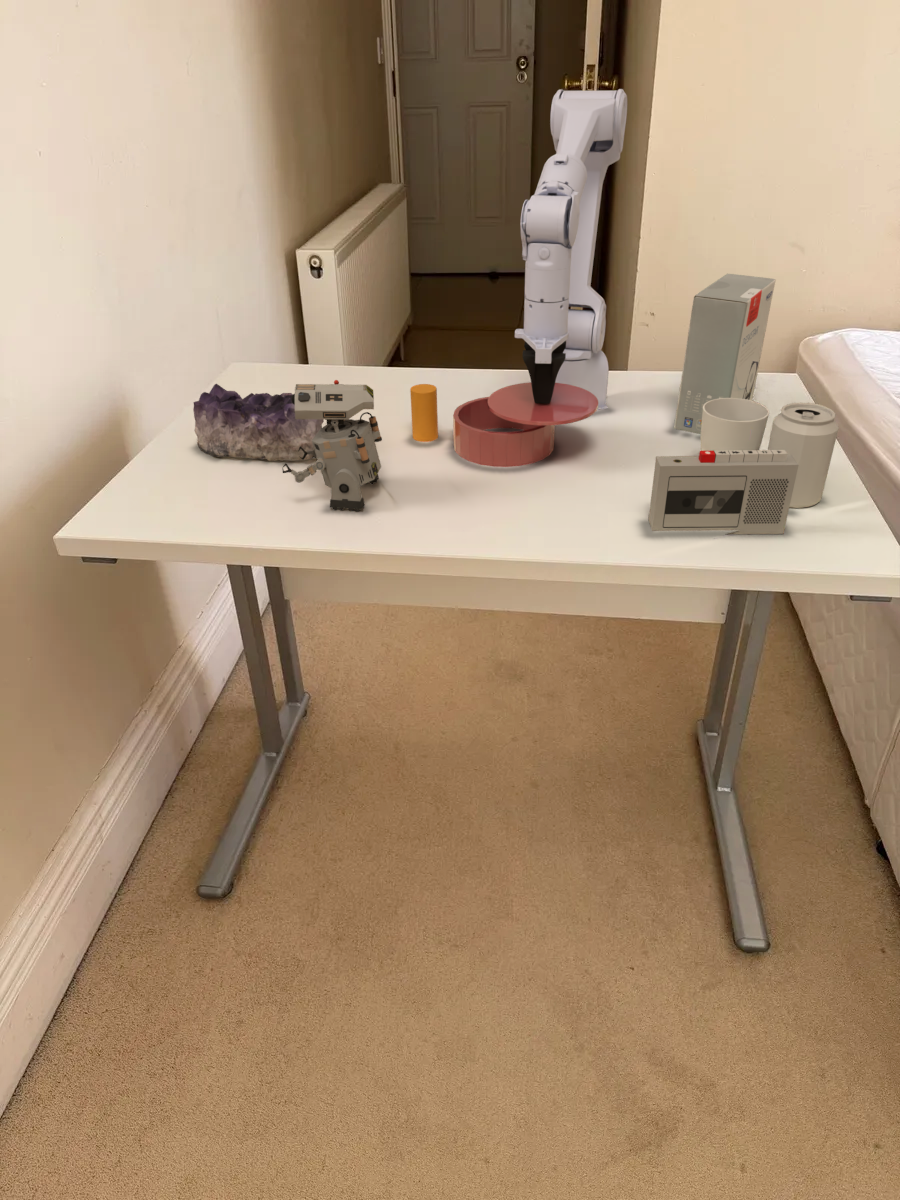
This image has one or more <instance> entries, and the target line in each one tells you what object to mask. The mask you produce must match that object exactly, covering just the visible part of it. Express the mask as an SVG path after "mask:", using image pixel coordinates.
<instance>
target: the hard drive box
mask: <svg viewBox="0 0 900 1200" xmlns="http://www.w3.org/2000/svg"><path fill="white" fill-rule="evenodd" d="M776 281H777V279H776V278H770V277H763V276H753V275H745V274H738V273H737V274H735V273H726V274H724V275H722V276H721V277H720V278H718V279H717V280H715V281H714V282H713V283H711V284H709V285H708V286H707V287H705V288H703V289H702V290H701V291H699V292H698V293H697V294H696V293H695V295H694V296H693V300H692V306H691V311H690V318H689V326H688V332H687V340H686V346H685V352H684V359H683V365H682V373H681V378H680V384H679V391H678V398H677V403H676V404H677V405H676V410H675V418H674V423H673V424H674V425H673V429H675V430H677V431H683V432H688V433H693V434H698V435H701V424H702V412H703V405H704V404H705V403H706V402H708V401H711V400H714V399H719V398H740V399H747V400H751V401H754V400H753V399H754V393H755V389H756V385H757V378H758V374H759V368H760V363H761V357H762V352H763V346H764V341H765V337H766V331H767V326H768V320H769V315H770V310H771V305H772V299H773V295H774V290H775V285H776Z"/></svg>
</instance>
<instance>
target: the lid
mask: <svg viewBox="0 0 900 1200" xmlns="http://www.w3.org/2000/svg"><path fill="white" fill-rule="evenodd" d="M488 397H489V398H488V408H489V410H490V411H491V412H492V413H493V414H495V415H496V416H498V417H500V418H503V419H505V420H508V421H512V422H516V423H521V424H528V425H555V426H559V425H567V424H568V425H569V424H572V423H577V422H579V421H580V422H581V421H583V420H586V419H588V418H589V417H591V416H593V415H594V414H595V413H596V412H597V411H598V410H597V409H598V399H597V398H596V396H595V395H594V394H592V393H591V392H589V391H587V390H585V389H583V388H580V387H577V386H573V385H568V384H562V383H555V385H554V390H553V395H552V398H551V401H550V403H549V404H543V403H535V402H534V398H533V392H532V385H531V381H530V382H529V381H528V382H520V383H515V384H511V385H507V386H504V387H502V388H499V389H497V390H495V391H493V392H492V393H491V394H490V395H489V396H488Z"/></svg>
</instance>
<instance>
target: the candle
mask: <svg viewBox="0 0 900 1200" xmlns="http://www.w3.org/2000/svg"><path fill="white" fill-rule="evenodd" d="M409 393H410V409H411V410H410V411H411V430H412V433H411V434H412V440H414V441H415V442H416V441H417V442H420V443H422V442H423V443H429V442H433V441H436V440H438V438H439V421H438V419H439V418H438V416H439V415H438V389H437V386H435V385H434V384H429V383H420V384H415V385H412V386H411V387H410V389H409Z"/></svg>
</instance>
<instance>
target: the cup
mask: <svg viewBox="0 0 900 1200" xmlns="http://www.w3.org/2000/svg"><path fill="white" fill-rule="evenodd" d="M769 416H770V409H769V408H768V407H767V406H765V405H764V404H762V403H760V402H758V401H754V400H752V401H751V400H747V399H740V398H719V399H714V400H711V401H708V402H706V403H705V404H704V405H703V412H702V424H701V434H700V437H699V438H700V451H722V450H760V448H761V446H762V442H763V439H764V436H765V435H764V434H765V432H766V427H767V423H768V419H769Z"/></svg>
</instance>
